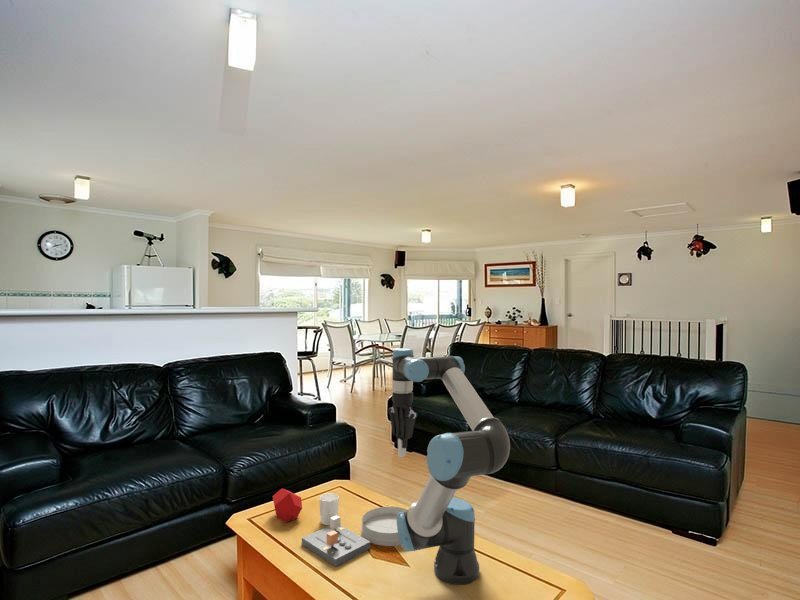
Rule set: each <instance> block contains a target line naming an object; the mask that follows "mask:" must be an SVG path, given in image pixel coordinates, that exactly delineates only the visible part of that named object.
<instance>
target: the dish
mask: <svg viewBox="0 0 800 600" xmlns="http://www.w3.org/2000/svg"><path fill="white" fill-rule="evenodd" d="M403 511H404V512H407V511H408V509H406V508H404V507H399V506H380V507H376V508H373V509H370V510H368V511H367V512H365V513H364V514H363V515H362V517H361V527H360V528H361V536H362V537H363V538H364V539H366V540H368V541H370V544H373V545H378V546H382V547H383V546H384V547H395V546H402V545H401V543H400V539H399V535H398V530H397V515H398V513H401V512H403Z"/></svg>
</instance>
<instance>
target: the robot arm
mask: <svg viewBox="0 0 800 600" xmlns="http://www.w3.org/2000/svg"><path fill="white" fill-rule="evenodd" d="M413 350H414V349H411V348H407V347H406V348H402V347H400V348H395V349H393V350H392V358H391V360H392V363H391V364H392V368H391V369H392V384H391V389H392V392H391V400H392V401H391V402H392V406H391V407H389V408H387V412H388V414H389V418H390V424H391V425H390V426H391V431H392V432H391V433H392V435H393V436H395V437H396V445H397V457H398V458H403V457H406V456H407V448H408V439H411V438H413V433H414V429H415V423H416V419H417V417H418V412H415V411H414V410H413V406H412V404H413V401H414V392H413V390H414V389H413V388H414V385H413V384H414V382H416V383H420V382H423V381H424V380H433V379H434V380H435V379H440V380H441V381H442V382H443V384H444V386H445V388H446V390H447V391H448V392H449V394H450V396H451V398H452V399H453V401H454V403H455V404H456V405H457V408H458V409H459V411H460V412H461V414H462V416H463V418H464V419H465V421H466V423H467V424H468V426H469V428H470V429H471V431H470V430H469V431H460V432H446V433H442V434H438V435H435V436H434V437H433V438H431V440H430V441H429V443H428V446H427V448H426V449H427V450H426V452H427V455H426V465H427V469H428V472H429V474H430V475H429V477H428V479H427V482H425V483H426V484H425V485H424V487H423V489H422V491H421V494H420V496H419V498H418V500H417V501H414V502H413V503H411V504H410V506H409V508H408V509H407V510H408V511H407V512H404V511H403V512H401V513H398V515H397V530H398V535H399V539H400V543H401V545H400V546H401V547H402V549H403V550H404V551H405V552H416V551H419V550H425V549H430V548H434V547H438V550H437V553H436V555H435V559H434V565H433V571H434V574H435V575H436V577H437V578H439V579H440V580H442V581H443V582H445V583H448V584H452V585H467V584H471V583H473V582H475V581H476V580H477V579H478V578H479V577H480V564H479V561H478V558H477V554H476V551H475V521H476V518H475V516H476V515H475V508H474V506H473V505H472V504H471V503H470V502H468V501H466V500H464V499H461V498H457V497H455V495H456V493H457V491H458V490H460V489H462V488H464V487H466V485H467V484H468V483H469V481H470V479H471V478H472V477H476V476H482V475H491V474H494V473H496V472H499V471H500V470H501V469H502V468H503V467H504V465H505V464H506V463H507V461H508V459H509V456H510V451H511V442H510V436H509V433H508V431H507V429H506V427H505V426H504V424H503V423H502V421H501V420H500V419H499V418H497V417H494V416H493V414H492V413H491V411H490V410H489V408H488V407H487V405H486V404H485V402H484V401H483V399H482V398H481V397H480V396H479V394H478V393H477V390H476V389H475V388H474V387H473V385H472V384H471V382H470V381H469V380H468V378H467V377H466V375H465V371H466V366H465V363H464V360H463V358H462V357H461V356H456V355H455V356H453V355H448V356H427V357H423V356H422V357H414V356H415V355H414V351H413Z"/></svg>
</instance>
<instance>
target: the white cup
mask: <svg viewBox="0 0 800 600" xmlns="http://www.w3.org/2000/svg"><path fill="white" fill-rule="evenodd" d="M339 502H340V496H339V495H338V494H337V493H332V492H328V493H322V495H320V496H319V515H320V523H321V525H324V526H330V518H331V517H333V516H336V515H337V516H338V515H339Z"/></svg>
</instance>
